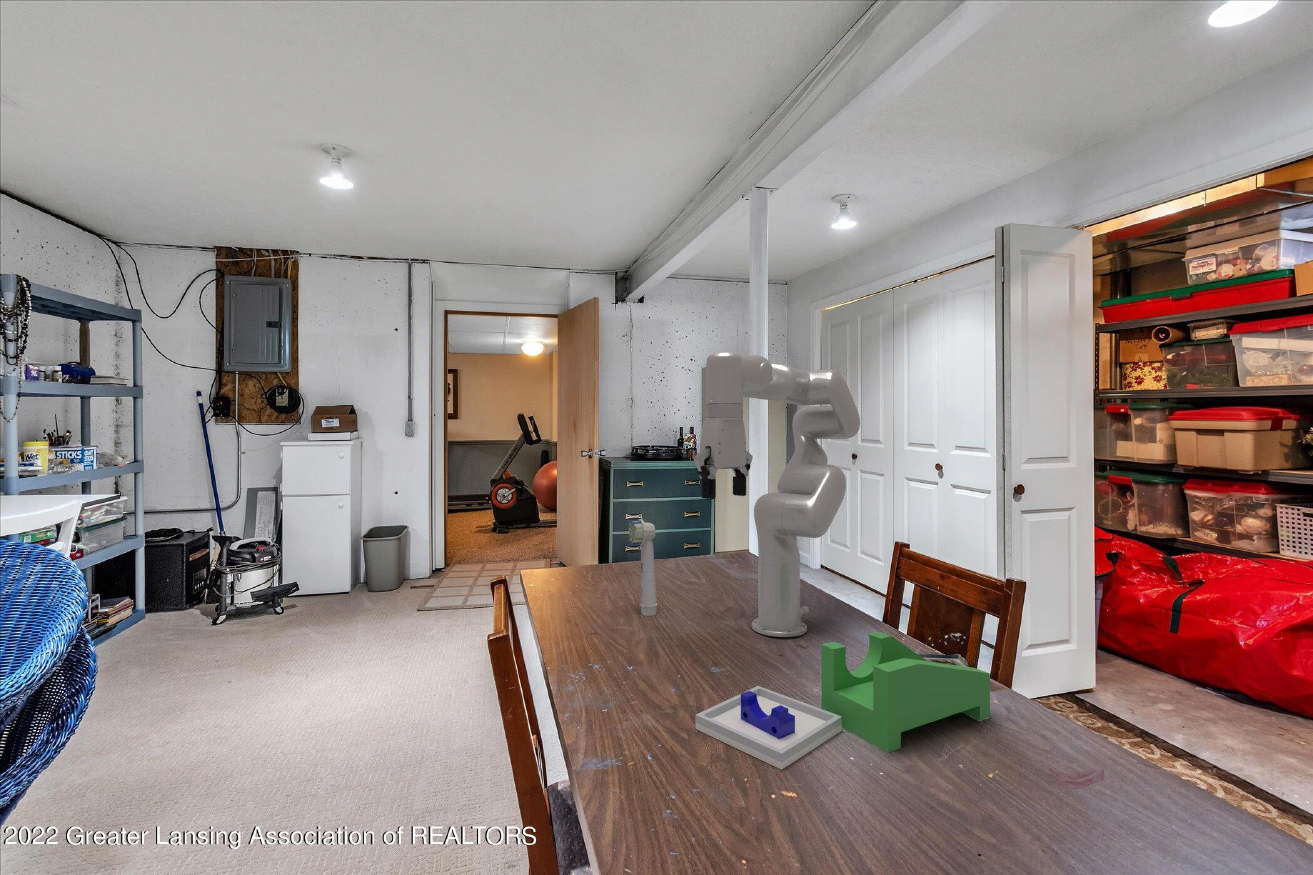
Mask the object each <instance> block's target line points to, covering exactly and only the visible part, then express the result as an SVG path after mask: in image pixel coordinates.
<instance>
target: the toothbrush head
mask: <svg viewBox="0 0 1313 875" xmlns="http://www.w3.org/2000/svg"><path fill="white" fill-rule="evenodd" d="M628 535H629V536H630V538H629V541H630V543H631V544H632V545H639V546H640V602H639V606H640V614H641V615H642V616H645V617H646V616H647V617H651V616H655V615H656V614H657V612H658V611H657V609H658V608H657V606H658V605H659V603H658V602H657V590H656V589H657V588H656V570H655V569H656V568H655V555H654V554H655V553H654V552H655V550H654V539H655V537H656V527H655V524H653V523H651V522H645V521H644V519H643V518H640V519H639V518H638V519H637V520H635V521H633V520H631V521H630V522H629V528H628Z"/></svg>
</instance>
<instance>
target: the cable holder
mask: <svg viewBox="0 0 1313 875" xmlns="http://www.w3.org/2000/svg"><path fill="white" fill-rule="evenodd" d="M746 691H747V692H746ZM746 691H744V692H742V694H741V693H740V694H741V719H742V720H743V721H745V722H747V723H749V724H751V725H753V726H755V727H757V728H759V729H760V730H762V731H764V732H766V733H768V734H770V735H772V736H774V737H776V738H778V739H781V738H784V737H786V736H788V735H790V734H793V733H795V716H794V715H792V714H790V713H788V708H786V707H784V706H782V705H780V706H777V707H774V708H772V711H771V715H769V716H768V715H767V714H765V713H764V712H763V711H762V709H761V708H760V706H759V703H758V700H757V694H756V693H754V692H752V691H748V690H746Z"/></svg>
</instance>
